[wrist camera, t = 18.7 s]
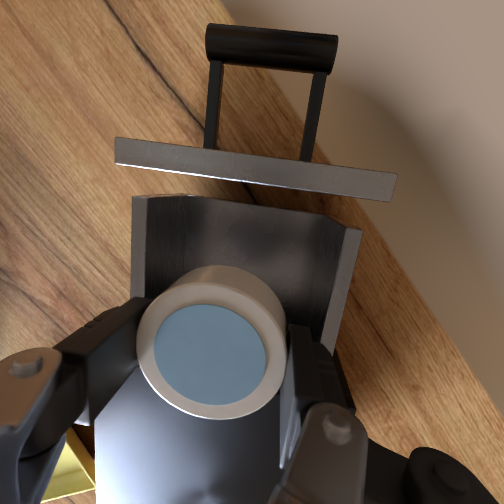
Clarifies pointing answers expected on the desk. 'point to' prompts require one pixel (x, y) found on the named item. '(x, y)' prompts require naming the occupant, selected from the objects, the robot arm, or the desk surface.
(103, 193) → the desk surface
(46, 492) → the yellow square dish
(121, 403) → the black box
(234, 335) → the button
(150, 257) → the drawer
